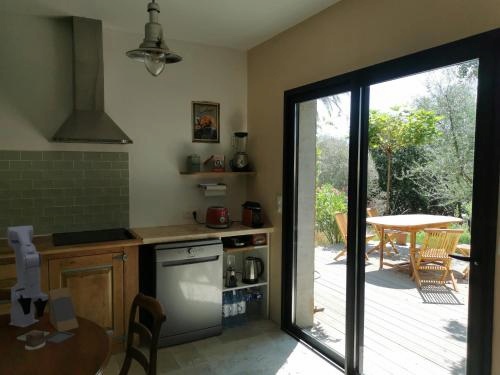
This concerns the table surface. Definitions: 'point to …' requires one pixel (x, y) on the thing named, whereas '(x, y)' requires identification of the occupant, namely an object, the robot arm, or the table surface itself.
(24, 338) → the pale green square tile
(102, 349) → the table surface
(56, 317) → the sandwich container
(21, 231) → the robot arm
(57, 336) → the grey square tile
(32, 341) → the walnut cube
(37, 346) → the coaster
